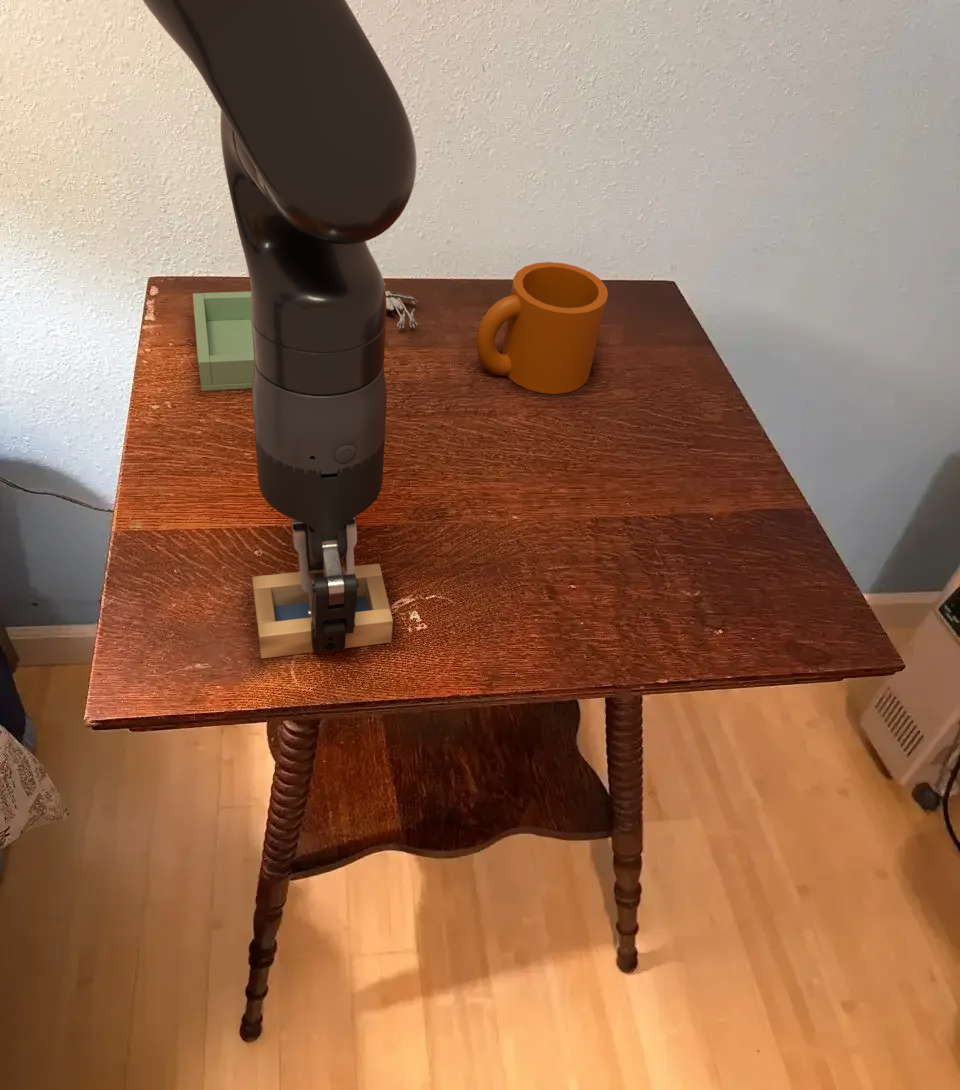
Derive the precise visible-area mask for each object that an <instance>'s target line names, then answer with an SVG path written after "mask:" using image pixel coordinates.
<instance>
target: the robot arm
mask: <svg viewBox="0 0 960 1090" xmlns="http://www.w3.org/2000/svg"><path fill="white" fill-rule="evenodd" d="M142 1H143V3H144V5H145V6H146V7H147V8H148V10H149V12H150V13H151V14H152V16H153V17H154V18H155V19H156V20H157V22H158V23H159V25H160V26H161V27H162V28H163V30H164V31H165V32H166V33H167V35H169V37H170V38H171V39H172V40H173V41H174V42H175V44H176V45H177V46H178V47H179V48H180V49H181V50H182V52H183V53H184V54H185V55H186V56H187V57H188V59H189V60H190V61H191V62H192V64H193V65H194V67H195V68H196V70H197V71H198V72H199V75H201V78H202V79H203V81H204V83H205V85H206V86H207V87H208V89H209V91H210V93H211V94H212V96H213V98H214V100H215V101H216V103H217V105H218V106H219V109H220V143H221V149H222V150H221V151H222V158H223V164H224V170H225V177H226V179H227V180H226V182H227V186H228V190H229V195H230V200H231V205H232V209H233V214H234V218H235V222H236V227H237V231H238V232H237V233H238V235H239V240H240V244H241V247H242V252H243V254H244V259H245V263H246V268H247V272H248V273H247V274H248V277H249V283H250V284H249V285H250V291H251V319H252V334H253V349H254V374H253V383H252V388H251V400H252V401H251V403H252V416H253V430H254V445H255V456H256V457H255V458H256V470H257V471H256V472H257V484H258V488H259V492H260V493H261V495H262V497H263V499H264V500H265V501H266V503H267V504H268V505H269V506H270V507H272V508H273V510H275V511H277V512H278V513H280V514H281V515H283V516H286V517H288V519H289V520H290V528H291V539H292V544H293V547H294V550H295V551H296V552H297V553H296V554H297V565H298V567H297V568H298V572H299V579H300V584H301V588H302V590H303V591H304V592H307V593H308V595H309V609H310V610H308V617H310V618H311V642H312V649H313V652H312V653H315V654H319V655H320V654H327V653H328V654H329V653H335V652H336V653H337V652H341V651H343V650H345V649H346V648H345V633H346V634H349V633H353V632H354V627H355V610H356V599H357V588H359V583H358V579H356V576H355V567H354V566H355V546H356V545H357V544H358V532H357V521H356V517H358V516H359V515H361V514H362V513H363V512H365V511H366V510H367V509H369V508H370V507H371V506H372V505H373V504H374V503H375V502H376V500H377V499H378V498H379V496H380V494H381V491H382V488H383V483H384V482H383V481H384V462H385V461H384V460H385V444H386V443H385V441H386V425H387V424H386V422H387V404H388V403H387V401H388V400H387V395H388V393H387V382H386V375H385V348H386V329H387V328H386V325H387V309H386V292H385V291H386V284H385V282H384V281H385V280H384V278H383V274H382V273H381V270H380V268H379V266H378V264H377V261H376V260H375V258H374V256H373V255H372V252H371V251H370V248H369V246H368V243H367V242H368V241H370V240H372V239H375V238H377V237H379V236H380V235H382V234H384V233H385V232H387V231H388V230H389V229H390V228H391V227H392V226H393V225H394V224H395V223H396V222H397V220H398V219H399V218H400V216H401V215H402V214H403V212H404V211H405V209H406V207H407V205H408V203H409V201H410V198H411V196H412V193H413V189H414V186H415V181H416V175H417V148H416V142H415V137H414V133H413V128H412V125H411V122H410V119H409V115H408V113H407V111H406V109H405V105H404V104H403V101H402V100H401V97H400V95H399V93H398V90H397V89H396V87H395V85H394V83H393V81H392V79H391V78H390V75H389V73H388V71H387V70H386V68H385V66H384V64H383V63H382V61H381V59H380V58H379V56H378V54H377V52H376V51H375V49H374V47H373V45H372V43H371V42H370V40H369V38H368V37H367V35H366V33H365V31H364V30H363V28H362V26H361V25H360V22H359V20H357V18H356V16H355V13H354V12H353V11H352V9H351V7H350V6H349V4H348V2H347V0H142ZM384 284H385V285H384ZM342 562H343V566H341V563H342ZM342 567H343V568H342ZM341 568H342V569H341ZM314 570H324V572H321V573H311V572H309V571H314Z"/></svg>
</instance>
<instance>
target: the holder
mask: <svg viewBox="0 0 960 1090" xmlns="http://www.w3.org/2000/svg"><path fill="white" fill-rule="evenodd" d="M192 303H193V314H194V315H193V316H194V328H195V329H194V330H195V340H196V341H195V343H196V354H197V364H198V373H199V381H200V390H201V391H202V392H208V391H209V392H211V391H212V392H213V391H228V390H229V391H231V390H244V389H245V390H246V389H252V383H253V374H254V349H253V334H252V319H251V290H250V291H225V292H223V291H222V292H220V291H219V292H193V293H192Z"/></svg>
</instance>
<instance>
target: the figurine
mask: <svg viewBox="0 0 960 1090" xmlns="http://www.w3.org/2000/svg"><path fill="white" fill-rule="evenodd" d="M384 285H385V286H386V283H384ZM385 292H386V311H392V312H393V311H394V310H396V312H397V314H398V316H399V321H397V324H396V327H397V328H398V327H399V329H401V327H402V329H404V327H405V324H406V315H407V317H408V319H409V320H408V321H409V323H408V324H409V327H410V328H413V329H415V328H416V327H415V325H416V326H418V323H417V321H416V319H415V318H414V312H415V311H416V309H415V308H413V309H412V310H411V311H410V312H409V311H408V310H407V308H406V306H405V304H404V303H403V301H402V299H406V300H408V301H409V302H411V303H412V304H416V303H417V300H416V298H414V297H413V296H412V295H409V294H408V295H407V294H405V293H401V292H400V293H399V292H395V291H390V290H385ZM402 310H403V312H402V314H401V313H400V312H401V311H402Z"/></svg>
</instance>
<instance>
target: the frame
mask: <svg viewBox="0 0 960 1090" xmlns="http://www.w3.org/2000/svg"><path fill="white" fill-rule="evenodd" d="M354 567H355V576H356V579H358V583H359V588H357V599H356V610H355V627H354V632H353V633H349V634H346V633H345V648H344V649H350V648H351V649H352V648H358V647H366V646H367V647H368V646H374V645H382V644H391V643H392V641H393V630H394V629H393V628H394V627H393V626H394V618H393V614H392V610H391V606H390V602H389V597H388V593H387V589H386V585H385V582H384V577H383V573H382V569H381V564H380V563H371V564H362V565H354ZM342 568H343V566H341V569H342ZM309 572H311V573H321V572H324V570H314V571H309ZM251 580H252V591H253V603H254V611H255V621H256V627H257V628H256V629H257V636H258V637H257V638H258V645H259V653H260V659H270V658H278V657H279V658H280V657H285V656H294V655H302V654H311V653H314V652H313V649H312V642H311V618H310V617H308V610H310V609H309V595H308V593H307V592H304V591H303V590H302V588H301V584H300V579H299V571H295V572H294V571H293V572H286V573H284V572H283V573H275V574H266V575H265V574H264V575H255V576H252V577H251Z"/></svg>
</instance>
